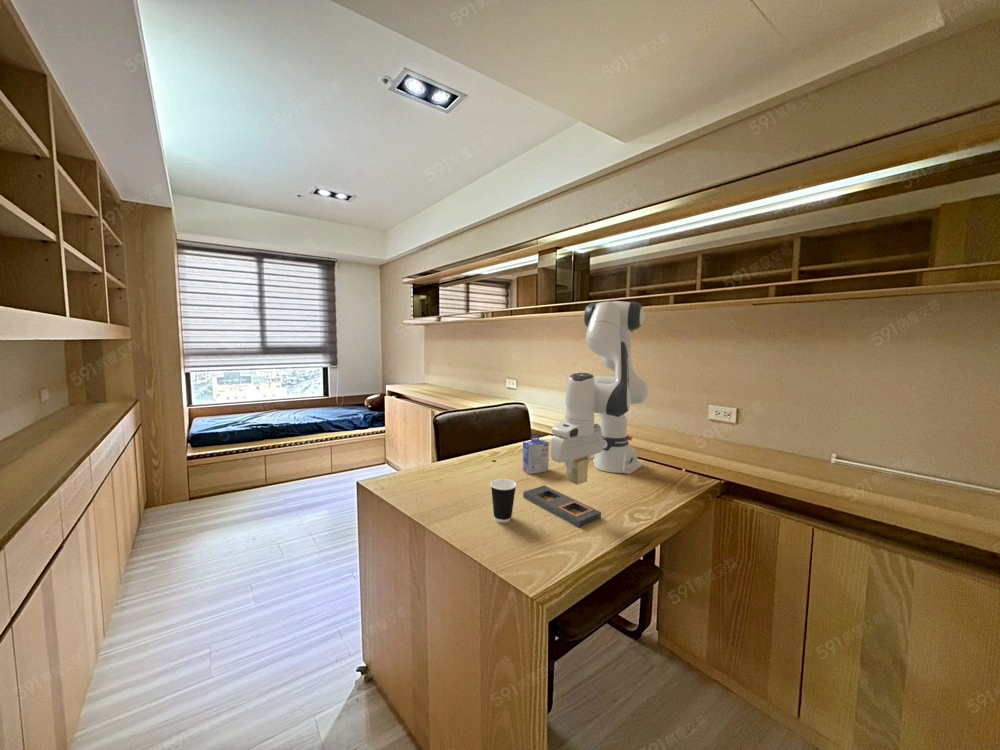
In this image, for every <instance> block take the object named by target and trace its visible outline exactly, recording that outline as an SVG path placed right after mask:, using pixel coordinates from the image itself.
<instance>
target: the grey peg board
mask: <svg viewBox="0 0 1000 750" xmlns="http://www.w3.org/2000/svg"><path fill="white" fill-rule="evenodd" d="M522 497H523V499H526V500H527V501H529V502H531V503H532V504H534V505H536V506H538V507H540V508H542V509H544V510H545V511H547V512H549V513H551V514H553V515H554V516H556V517H558V518H560V519H561V520H564V521H565V522H568V523H570V524H571V525H573V526H575V527H577V528H579V529H580V528H582V527H585V526H587V525H589V524H591V523H593V522H596V521H598V520H601V518H602V511H599V510H598V509H595V508H593V507H591V506H589V505H587V504H585V503H583V502H580V501H578V500H577V499H575V498H572V497H571V496H568V495H566V494H564V493H562V492H560V491H557V490H555V489H553V488H551V487H549V486H546V485H541V486H538V487H536V488H532V489H528V490H525V491H523V495H522ZM546 497H549V498H552V499H549V500H548V499H545V498H546ZM573 510H575V511H577V512H579V513H577V514H576V513H574V512H572V511H573Z"/></svg>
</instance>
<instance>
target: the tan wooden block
mask: <svg viewBox="0 0 1000 750" xmlns="http://www.w3.org/2000/svg"><path fill="white" fill-rule="evenodd" d="M571 464H572V467H574V473H571V474H569V473H567V469H566V475H565V480H566V481H567V482H569V483H572V484H575V485H577V486H578V485H580V484H584V483H588V474H589V473H588V471H589V469H588V468H589V462H588V459H586V458H583V457H581V458H577V459H573V462H572V463H571Z"/></svg>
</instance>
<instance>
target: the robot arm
mask: <svg viewBox="0 0 1000 750" xmlns="http://www.w3.org/2000/svg"><path fill="white" fill-rule="evenodd" d="M584 308H585V309H584V312H583V321H584V325H585V326H586V327H587V330H586V335H585V342H586V345H587V346H588V348H589V350H591V351H592V352H593V353H594V354H596V355H598V356H600V357H601V359H602V364H603V365H604V366H605V367H606V368H608V369H610V370H611V371H613V372H614V376H609V375H608V376H607V375H597V376H594V375H593V374H592V373H588V372H575V373H572V374H571V375H569V376H568V379H567V384H566V385H567V386H566V390H565V406H566V409H565V413H564V419H563V420H561V421H560V422H559V423H557V424H556V425H554V426H553V427H552V428H551V433H552V438H551V441H550V449H549V457H550V458H551V460H552V461H554V462H556V463H559V464H560V463H564V465H565V467H566V470H567V473H569V474H571V473H574V467H572V464H571V463H572V462H573V459H577V458H581V457H583V458H586V459H588V463H589V462H590V460H591V456H593V455H594V458H593V459H592V462H593V467H594V468H595V469H597V470H600V471H603V472H607V473H617V474H627V475H630V474H632V473H634V472H635V471H637V470H638V469H640V468H642V467H643V466H644V463H643V462H641V461H640V460H638V451H636V449H635V448H633V446H631V445H630V443H629V441H632V440H633V436H632V435H629V434H628V433H627V431H628V419H627V417H626V415H625V414H626V413H627V412H629V410H630V407H631V405H638V404H642V403H644V402H645V401H646V400H647V398H648V396H649V387H648V385H647V383H646V382H645V380H644V379H642V378H640V376H639V375H638V374H637V373H636V371H635V370H634V368H633V367H634V366H633V365H632V352H631V350H632V334H631V333H632V332H634V331H636V330H638V329H640V328H641V326H642V324H643V322H644V320H645V311H644V308H643V305H642V304H641V303H640V302H638V301H637V302H636V301H620V300H613V301H603V302H597V301H596V302H592V303H589V304H588V305H587V306H586V307H584ZM594 414H598V417H599V418H598V419H599V423H595V415H594Z"/></svg>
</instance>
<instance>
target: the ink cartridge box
mask: <svg viewBox="0 0 1000 750" xmlns="http://www.w3.org/2000/svg"><path fill="white" fill-rule="evenodd" d="M533 438H534V439H533ZM549 459H550V442H549V441H547V440H545V439H540V437H539V434H538V435H530V441H523V442H522V471H523V472H524V473H526V474H527V475H533V474H538V473H545V472H549Z"/></svg>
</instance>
